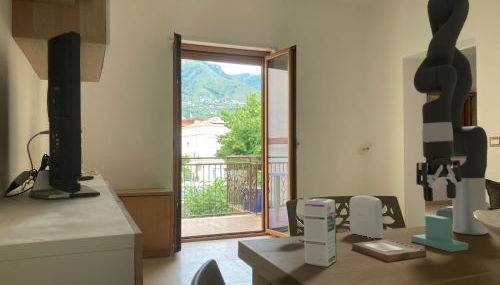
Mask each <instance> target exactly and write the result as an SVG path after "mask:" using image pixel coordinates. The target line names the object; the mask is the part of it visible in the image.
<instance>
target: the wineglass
mask: <svg viewBox="0 0 500 285" xmlns="http://www.w3.org/2000/svg"><path fill="white" fill-rule="evenodd" d="M312 199H314V198H311V197H301V198H298V199H297V202H296V209H295V210H296V216H297V218H298V219H300V220H302V221H304V204H303V202H304V201H309V200H312ZM303 240H304V237H303Z"/></svg>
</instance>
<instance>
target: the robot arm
mask: <svg viewBox="0 0 500 285" xmlns="http://www.w3.org/2000/svg"><path fill="white" fill-rule="evenodd" d="M426 6H427V7H426V8H427V15H428V16H427V18H428V22H429V25H430V26H429V27H430V30H431V35H432V38H431V39H430V42H429V43H428V47H427V50H426V55H425V57H424V59H423V60H422V62H421V63H420V64H419V66H418V67H417V69H416V71H415V72H414V73H415V74H414V77H413V85H414V89H415V90H416V92H418V93H420V94H432V93H434V94H435V93H439V96H438V97H437V98H436V99H434V100H430V101H426V102H425V103H423V104H422V106H421V107H422V108H421V109H422V112H421V113H422V135H421V136H422V156H423V158H425V162H423V161H422V162H421V161H420V162H418V161H417V162H416V172H415V173H416V174H415V175H416V178H415V181H416V182H415V183H416V185H418V186H421V187H422V189H423V190H422V191H423V193H422V196H423V199H424V201H425V202H431V203H432V202H433V201H434V192H433V190H434V189H433V184H434V183H435V181H437V180H438V178H439V179H440V178H442V179H443V180H444V181H445V183H446V186H445V187H446V198H447V199H451V200H452V232H454V233H457V234H463V235H471V236H473V235H476V236H478V235H479V236H480V235H486V234H487V233H489V230H488V231H487V230H486V229H485V228H483V227H482V225H481V224H480V223H478V222H477V221H476V220H475V218H474V216H473V212H474V211H476V210H488V211H489V207H488V206H489V205H488V204H489V202H488V201H487V200H486V199H487V195H486V189H487V188H486V171H487V166H488V144H489V143H488V136H487V132H486V130H485V129H484V128H483V127H482V126H479V125H473V126H472V125H469V126H463V122H462V112H463V108H464V106H465V103H466V101H467V98H468V96H469V95H470V93H471V90H472V87H473V76H472V68H471V64H470V63H471V62H470V60H469V59H468V58H467V56H466V55H465V54H464V53H463V52H462V51H461V50H460V49H459V48H458V47H456V45H457V41H458V39H459V36H460V35H461V33H462V30H463V28H464V26H465V22H467V18H468V15H469V12H470V2H469V0H427V5H426ZM455 156H456V157H457V156H458V157H459V156H460V157H461V156H462V157H465V156H466V157H465V161H464V162H463V163H462V164H461V161H460V160H459V159H456V160H455V159H454V160H453V159H452V158H454V157H455Z"/></svg>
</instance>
